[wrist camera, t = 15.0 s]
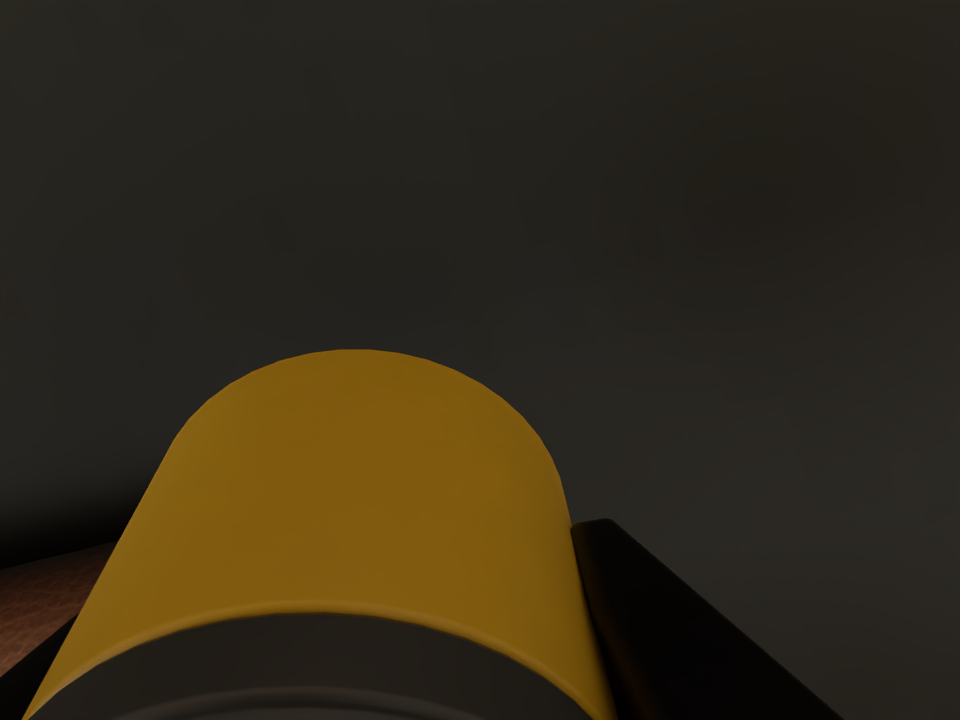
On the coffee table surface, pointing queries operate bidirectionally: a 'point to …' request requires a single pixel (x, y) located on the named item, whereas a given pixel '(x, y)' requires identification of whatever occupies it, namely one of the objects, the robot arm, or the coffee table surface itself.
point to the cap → (341, 562)
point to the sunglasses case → (45, 598)
